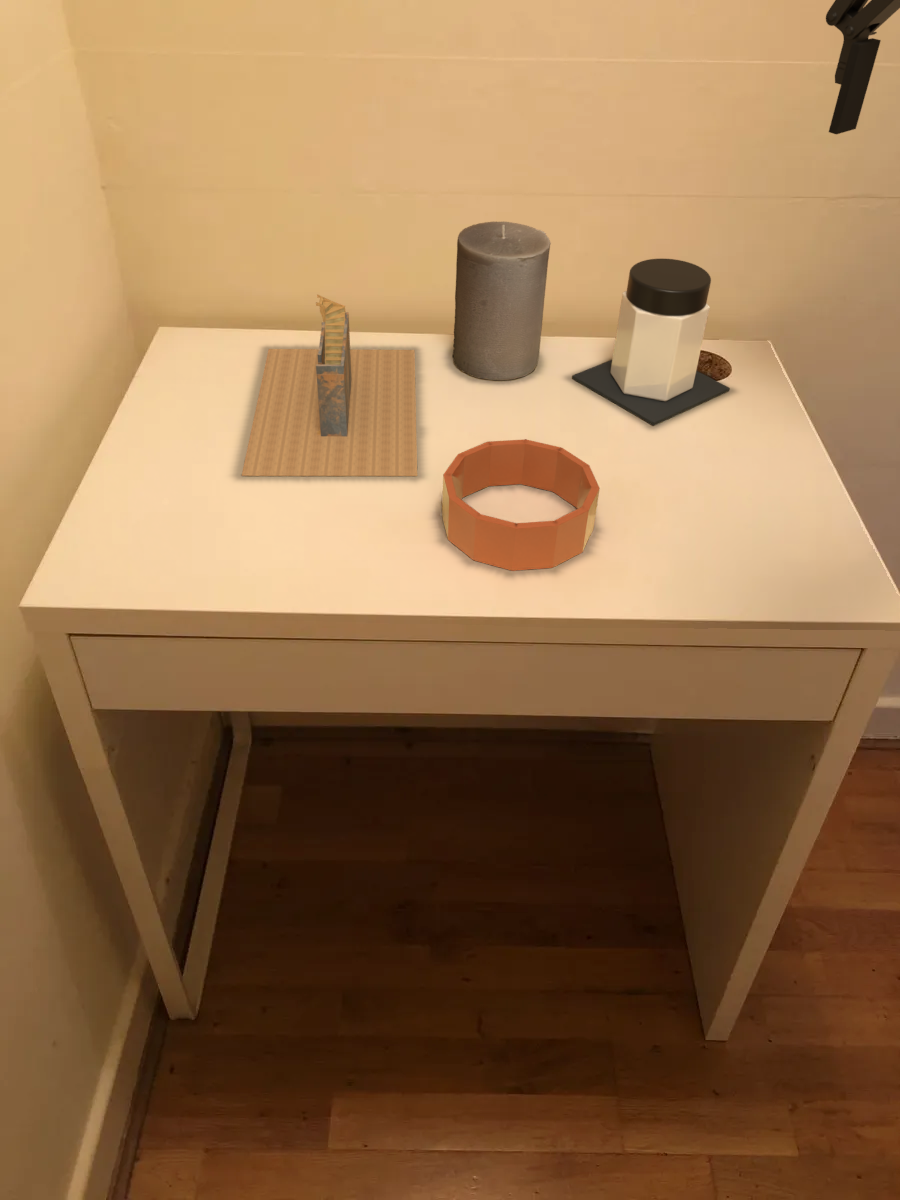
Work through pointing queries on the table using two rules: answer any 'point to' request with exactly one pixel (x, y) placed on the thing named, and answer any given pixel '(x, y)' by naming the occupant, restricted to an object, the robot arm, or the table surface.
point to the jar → (661, 328)
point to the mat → (645, 407)
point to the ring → (519, 540)
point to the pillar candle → (499, 299)
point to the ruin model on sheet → (335, 409)
